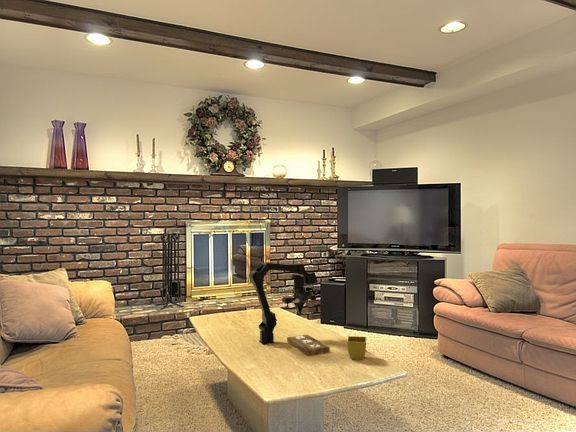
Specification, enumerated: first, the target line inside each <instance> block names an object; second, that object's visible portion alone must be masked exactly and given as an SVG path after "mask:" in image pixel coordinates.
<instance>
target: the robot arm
mask: <svg viewBox="0 0 576 432" xmlns="http://www.w3.org/2000/svg"><path fill="white" fill-rule="evenodd" d="M269 271H279V272H280V271H284V272H290V273H292V275H290V276H289V279H293V287H292V290H293V295H292V297H291V296H288V295H287V296H282V298H281V302H282V303H284V304H293V305H294V307H295V308H296V311H297V314H298V315H301V314H302V311H303V308H304V306H305V304H306V303H308V301H309V300H310V301H311V302H312V301H317V295H315V294H313V293H312V291H307V292H306V288H305V286H313V285H317V284H318V278H317V275H316V272H308V271H307V269H306V267H305V265H304V264H302V263H296V262H295V263H294V262H293V263H287V264H286V263H277V262H270V261H269V262H268V261H265V262H264V263H262V265H260V266H257V267H256V268H255V269H254V270H252V271H250V272H249V274H248V279H249V280H250V282H251V284H252V285H253V287H254V289H255V293H256V296H257V299H258V302H259V306H260V310H261V311H262V312H261V320H262V321H261V322H260V323H259V324H258V329H259V340H258V343H260V344H262V345H268V344H274V343H275V339H274V338H275V337H274V329H275V327H276V325H277V321H278V320H277V318H276V317H277V316H276V313H274V312H273V311H271V309H270V306H269V305H270V304H269V302H268V299H267V296H266V291H265V288H264V277H265V276H266V275H267V274H268V272H269Z"/></svg>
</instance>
